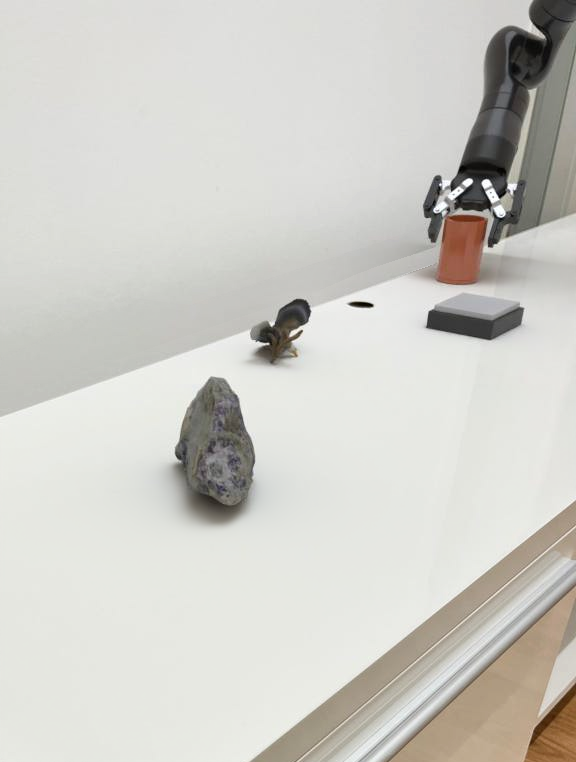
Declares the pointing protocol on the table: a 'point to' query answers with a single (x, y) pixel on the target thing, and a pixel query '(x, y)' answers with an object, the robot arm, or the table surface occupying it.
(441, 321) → the scale
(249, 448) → the mineral rock
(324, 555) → the table surface
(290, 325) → the grey-brown irregular figure
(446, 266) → the cup
